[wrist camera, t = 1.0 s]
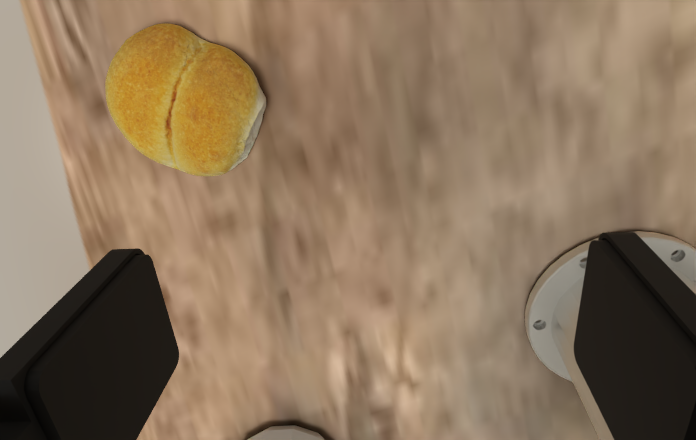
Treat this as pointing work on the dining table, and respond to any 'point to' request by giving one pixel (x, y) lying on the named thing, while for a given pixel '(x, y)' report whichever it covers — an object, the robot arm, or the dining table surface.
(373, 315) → the dining table surface
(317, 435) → the jar
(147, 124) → the bread roll
